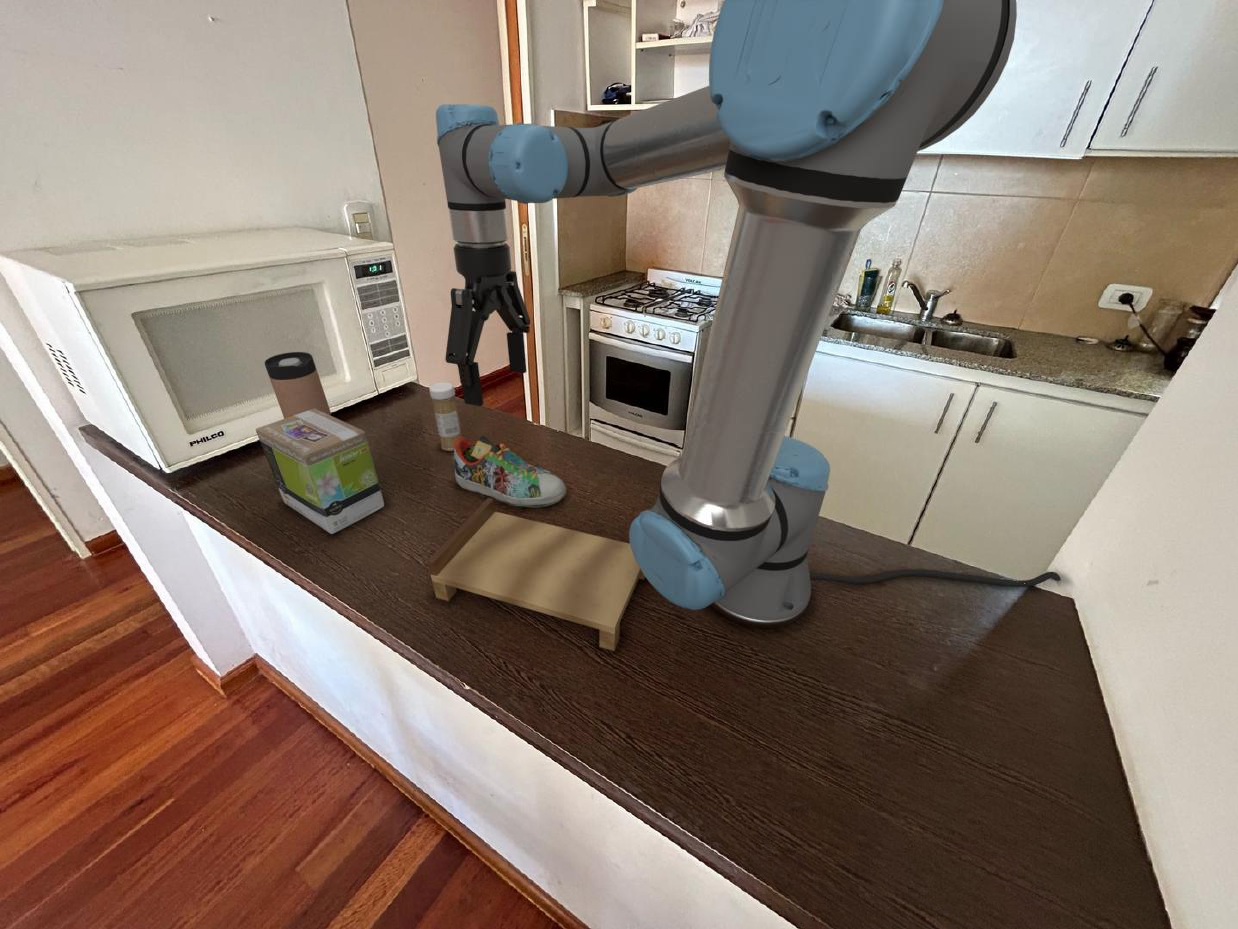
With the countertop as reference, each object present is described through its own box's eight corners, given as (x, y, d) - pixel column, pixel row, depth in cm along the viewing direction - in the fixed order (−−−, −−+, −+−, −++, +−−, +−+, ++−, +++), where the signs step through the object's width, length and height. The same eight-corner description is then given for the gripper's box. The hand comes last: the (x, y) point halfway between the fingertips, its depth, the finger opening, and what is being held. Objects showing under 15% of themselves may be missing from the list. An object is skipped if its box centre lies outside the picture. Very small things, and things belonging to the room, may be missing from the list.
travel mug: (304, 448, 103) (269, 353, 92) (345, 443, 105) (316, 349, 94) (295, 468, 97) (258, 368, 86) (340, 462, 99) (308, 364, 88)
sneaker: (554, 517, 85) (550, 467, 80) (446, 491, 92) (436, 444, 86) (572, 492, 91) (570, 445, 86) (470, 470, 98) (462, 425, 92)
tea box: (387, 506, 87) (366, 429, 80) (331, 537, 80) (302, 456, 72) (338, 477, 94) (314, 405, 87) (282, 504, 87) (251, 427, 80)
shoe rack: (647, 570, 75) (650, 535, 72) (614, 651, 63) (615, 613, 60) (493, 531, 82) (488, 497, 78) (436, 597, 70) (427, 561, 66)
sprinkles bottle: (464, 440, 107) (454, 380, 100) (463, 451, 103) (453, 389, 96) (441, 442, 106) (429, 382, 99) (440, 453, 102) (427, 391, 95)
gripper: (503, 228, 81) (514, 357, 92) (397, 256, 61) (428, 415, 72) (546, 232, 79) (552, 363, 90) (451, 261, 59) (475, 424, 70)
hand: (497, 386), depth 81 cm, fingers open, 13 cm apart
